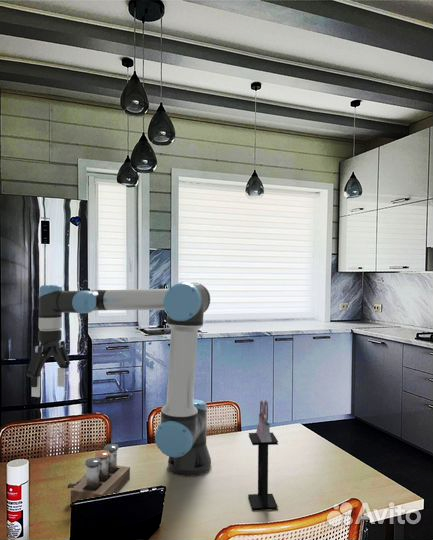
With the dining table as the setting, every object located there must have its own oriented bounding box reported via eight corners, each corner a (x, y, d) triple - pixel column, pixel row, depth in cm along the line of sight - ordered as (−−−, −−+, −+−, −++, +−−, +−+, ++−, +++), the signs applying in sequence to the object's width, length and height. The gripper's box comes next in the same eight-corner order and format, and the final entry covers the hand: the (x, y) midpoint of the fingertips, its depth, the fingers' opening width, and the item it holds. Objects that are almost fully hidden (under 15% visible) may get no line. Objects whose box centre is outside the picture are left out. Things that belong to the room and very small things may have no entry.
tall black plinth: (247, 494, 126) (248, 395, 127) (271, 493, 126) (271, 395, 127) (253, 513, 115) (254, 406, 116) (279, 512, 116) (279, 405, 117)
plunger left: (103, 484, 123) (103, 458, 124) (95, 492, 119) (95, 464, 119) (89, 483, 124) (90, 457, 125) (81, 490, 120) (82, 463, 120)
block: (129, 479, 134) (129, 467, 135) (101, 509, 117) (101, 494, 117) (102, 475, 137) (102, 463, 137) (70, 504, 119) (70, 490, 120)
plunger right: (120, 468, 134) (120, 444, 134) (113, 474, 130) (114, 449, 130) (108, 467, 135) (108, 443, 135) (101, 473, 131) (101, 448, 131)
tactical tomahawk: (85, 493, 127) (85, 490, 127) (66, 488, 129) (67, 485, 129) (118, 463, 148) (118, 460, 148) (102, 459, 149) (102, 456, 149)
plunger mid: (112, 476, 129) (112, 451, 129) (104, 483, 124) (105, 457, 125) (99, 474, 130) (99, 449, 130) (91, 481, 125) (92, 455, 126)
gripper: (62, 325, 155) (61, 381, 155) (14, 333, 131) (13, 400, 131) (80, 326, 154) (79, 383, 153) (34, 334, 129) (33, 402, 129)
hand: (49, 391), depth 142 cm, fingers open, 13 cm apart
